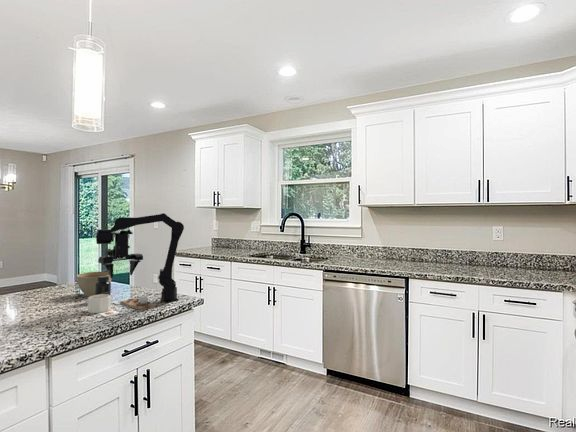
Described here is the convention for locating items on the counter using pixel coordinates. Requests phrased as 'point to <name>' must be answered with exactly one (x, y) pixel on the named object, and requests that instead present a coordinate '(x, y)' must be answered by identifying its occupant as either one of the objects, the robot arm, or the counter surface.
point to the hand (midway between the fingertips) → (121, 276)
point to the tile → (109, 313)
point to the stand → (137, 304)
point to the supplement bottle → (103, 286)
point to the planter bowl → (89, 282)
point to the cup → (99, 303)
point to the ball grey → (143, 300)
